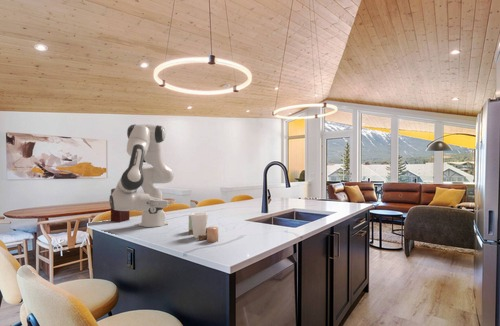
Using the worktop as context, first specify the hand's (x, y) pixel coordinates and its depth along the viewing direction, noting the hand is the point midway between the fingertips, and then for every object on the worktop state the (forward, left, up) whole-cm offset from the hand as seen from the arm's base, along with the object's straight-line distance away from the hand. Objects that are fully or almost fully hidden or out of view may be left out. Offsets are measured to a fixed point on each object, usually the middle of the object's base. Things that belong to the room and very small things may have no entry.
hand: (170, 202), depth 152 cm
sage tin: (-15, +14, -20) cm, 29 cm away
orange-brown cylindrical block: (+9, +22, -20) cm, 31 cm away
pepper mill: (-64, -36, -20) cm, 76 cm away
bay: (-3, +18, -20) cm, 27 cm away
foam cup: (-2, +16, -20) cm, 26 cm away
